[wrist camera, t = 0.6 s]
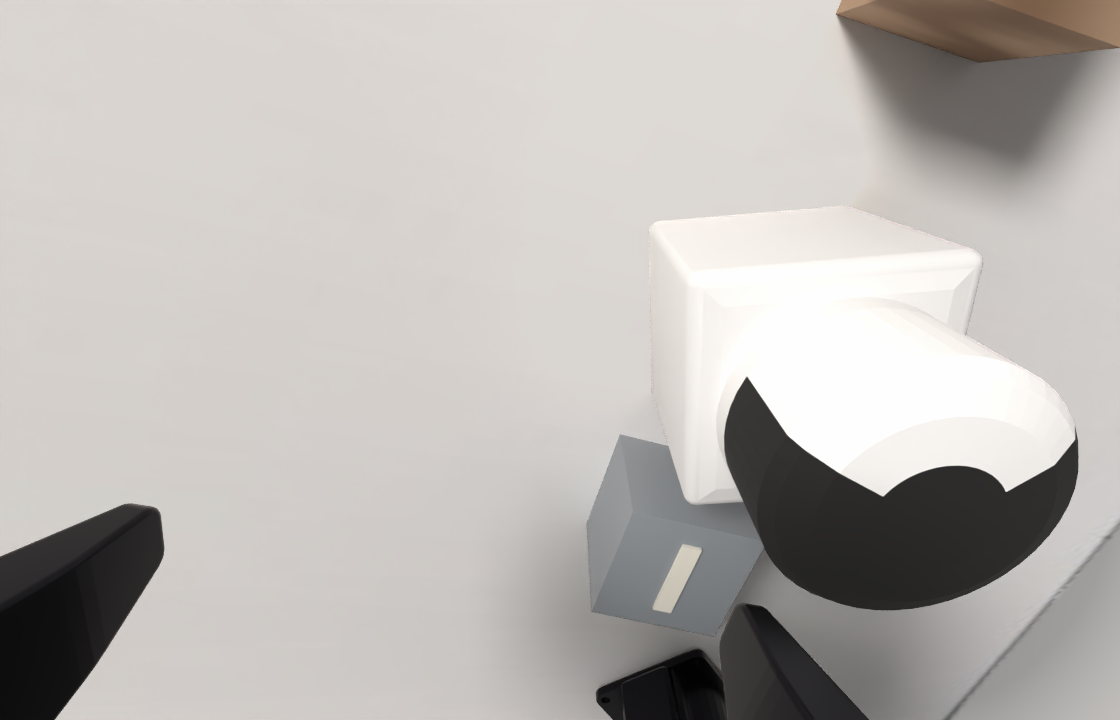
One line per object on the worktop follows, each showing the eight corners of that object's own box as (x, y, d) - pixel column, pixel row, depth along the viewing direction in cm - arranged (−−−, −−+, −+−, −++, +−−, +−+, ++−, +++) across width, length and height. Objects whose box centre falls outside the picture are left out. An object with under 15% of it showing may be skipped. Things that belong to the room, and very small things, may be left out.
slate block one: (728, 459, 24) (768, 545, 19) (687, 544, 26) (714, 640, 21) (619, 433, 24) (633, 514, 19) (586, 521, 26) (591, 615, 21)
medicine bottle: (826, 382, 22) (1077, 645, 11) (650, 395, 23) (731, 663, 12) (850, 202, 19) (1219, 325, 8) (646, 220, 20) (751, 360, 9)
